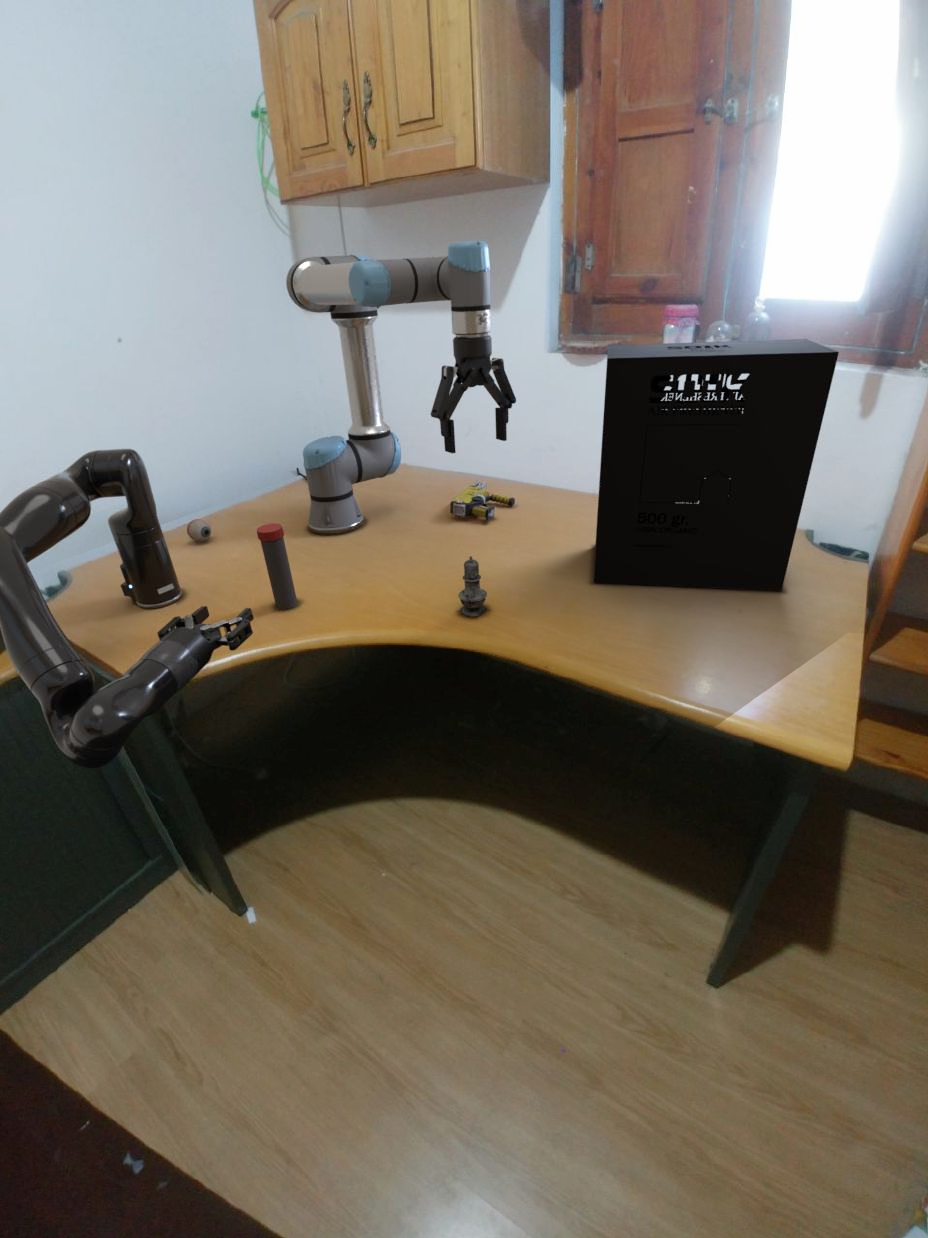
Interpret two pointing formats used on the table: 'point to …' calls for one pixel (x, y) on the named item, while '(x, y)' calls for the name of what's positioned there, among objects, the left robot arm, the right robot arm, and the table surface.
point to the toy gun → (477, 502)
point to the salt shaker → (472, 590)
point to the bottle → (279, 573)
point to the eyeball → (199, 530)
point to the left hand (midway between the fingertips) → (228, 611)
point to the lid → (270, 532)
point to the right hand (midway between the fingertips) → (476, 445)
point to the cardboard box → (707, 461)
